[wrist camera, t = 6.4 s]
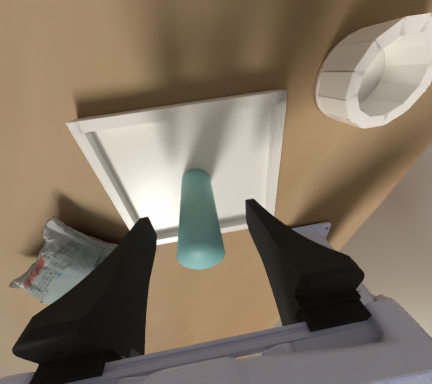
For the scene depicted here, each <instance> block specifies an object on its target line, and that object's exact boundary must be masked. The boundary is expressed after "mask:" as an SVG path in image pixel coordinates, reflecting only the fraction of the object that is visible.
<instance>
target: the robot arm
mask: <svg viewBox="0 0 432 384" xmlns="http://www.w3.org/2000/svg"><path fill="white" fill-rule="evenodd" d="M245 209H246V222H247V226H248V229H249V232H250V234H251V236H252V239H253V241H254V243H255V245H256V247H257V250H258V252H259V254H260V256H261V259H262V261H263V264H264V267H265V270H266V273H267V276H268V279H269V282H270V285H271V288H272V291H273V294H274V298H275V301H276V304H277V308H278V311H279V315H280V318H281V321H282V325H283V326H282V327H277V328H272V329H267V330H262V331H257V332H253V333H248V334H243V335H238V336H233V337H228V338H223V339H219V340H214V341H209V342H204V343H199V344H194V345H190V346H185V347H180V348H175V349H170V350H165V351H160V352H156V353H151V354H146V355H144V351H145V325H146V310H147V298H148V288H149V281H150V276H151V271H152V266H153V262H154V257H155V252H156V245H157V234H156V232H155V230H154V228H153V226H152V224H151V221H150V219H149V217H143V218H139V220H138V221H137V222H136V223H135V225H134V226H133V227H132V228H131V230H130V231H129V232H128V233H127V235H126V236H125V237H124V238H123V240H122V241H121V242H120V243H119V244H118V245H117V247H116V248H115V249H114V250H113V251H112V252H111V253H110V254H109V255H108V256H107V258H106V259H105V260H104V261H103V262H101V263H100V264H99V265H98V266H97V267H96V268H95V269H94V270H93V271H92V272H91V273H90V274H88V275H87V276H86V277H85V278H84V279H83V280H82V281H80V282H79V283H78V284H77V285H76V286H74V287H73V288H72V289H71V290H69V291H68V292H67V293H65V294H64V295H63V296H61V297H60V298H59V299H57V300H56V301H55V302H53V303H52V304H50V305H49V306H48V307H46V308H45V309H43V310H42V311H40V312H39V313H38V314H36V315H35V316H33V317H32V319H31V320H30V322H29V323H28V325H27V326H26V328H25V330H24V331H23V333H22V334H21V336H20V337H19V339H18V340H17V342H16V344H15V345H14V347H13V348H12V352H13V354H14V355H15V356H17V357H20V358H22V359H26V360H29V361H32V362H35V363H38V364H39V366H38V368H37V370H36V372H28V373H22V374H17V375H12V376H7V377H3V378H2V379H0V384H432V338H431V337H430V336H429V335H428V334H427V333H426V331H425V330H424V329H423V328H422V327H421V326H420V325H419V324H418V323H417V322H416V321H415V320H414V319H413V318H412V317H411V316H410V315H409V314H408V312H406V311H405V310H404V308H402V307H401V306H400V305H399V304H398V303H397V302H396V301H395V300H394V299H392V298H389V297H385V296H384V295H378V296H374V295H373V294H371V293H370V292H369V290H368V289H367V288H366V287H365V286H364V284H363V283H362V281H363V279H364V272H363V271H362V270H361V269H360V268H359V267H358V265H357V264H356V263H355V262H354V261H353V260H352V259H351V258H350V257H349V256H347V255H345V254H343V253H340V252H337V251H335V249H334V248H333V247H332V246H331V245H330V243H329V242H328V241H327V240H326V237H327V234H328V232H329V229H330V227H331V223H330V222H323V223H318V224H312V225H307V226H301V227H296V228H289V227H288V226H286V225H285V224H283V223H282V222H281V221H279V220H278V219H277V218H275V217H274V216H273V215H272V214H270V213H269V212H268V211H267V210H266V209H265V208H263V207H262V206H261V205H260V204H259V203H258V202H257V201H256V200H255V199H254V198H253V199H247V200H245ZM260 352H262V356H259V357H250V358H242V359H235V358H236V357H241V356H246V355H250V354H255V353H260Z"/></svg>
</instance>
